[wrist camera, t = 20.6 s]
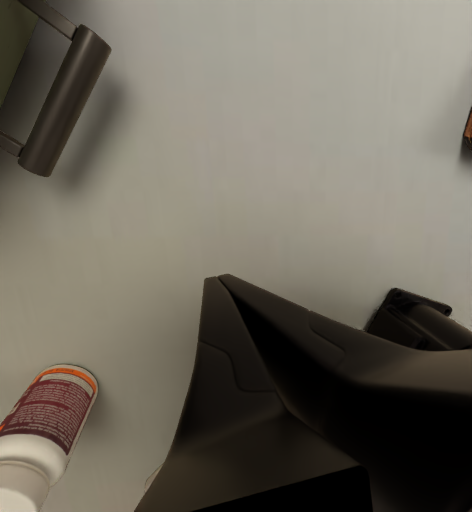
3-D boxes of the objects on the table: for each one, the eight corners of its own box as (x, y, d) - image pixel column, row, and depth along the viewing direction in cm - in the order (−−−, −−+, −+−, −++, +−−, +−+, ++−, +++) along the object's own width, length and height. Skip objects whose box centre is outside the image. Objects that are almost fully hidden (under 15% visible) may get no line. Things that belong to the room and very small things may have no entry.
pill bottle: (32, 361, 20) (-72, 486, 12) (99, 363, 21) (41, 481, 13) (37, 408, 22) (-53, 547, 14) (99, 408, 23) (47, 539, 15)
